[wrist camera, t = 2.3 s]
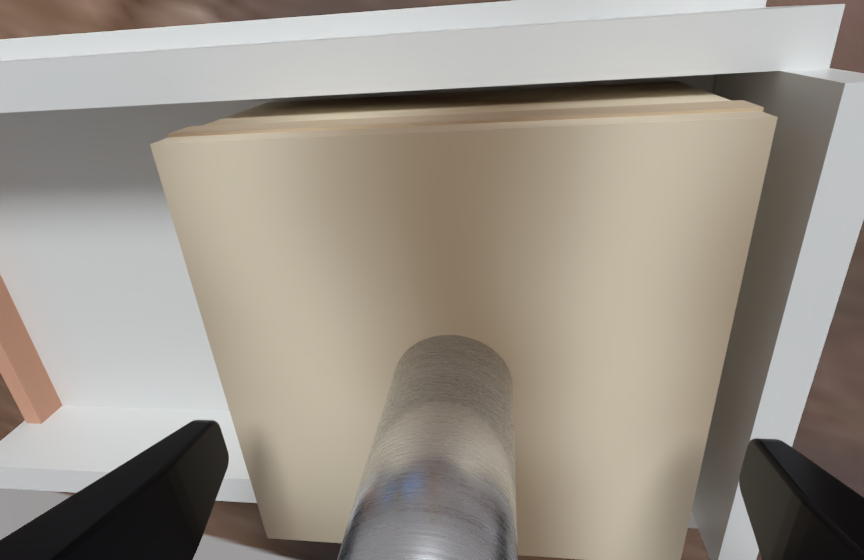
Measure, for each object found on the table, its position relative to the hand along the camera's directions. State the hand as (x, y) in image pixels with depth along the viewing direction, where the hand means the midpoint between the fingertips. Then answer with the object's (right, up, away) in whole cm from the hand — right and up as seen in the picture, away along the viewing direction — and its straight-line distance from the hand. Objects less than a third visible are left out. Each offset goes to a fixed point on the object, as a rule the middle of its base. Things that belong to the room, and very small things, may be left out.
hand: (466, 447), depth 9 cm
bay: (-4, +3, +8) cm, 9 cm away
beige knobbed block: (+1, +3, +7) cm, 8 cm away
